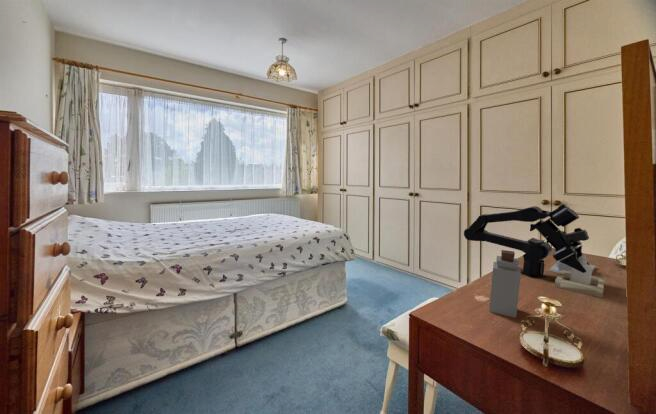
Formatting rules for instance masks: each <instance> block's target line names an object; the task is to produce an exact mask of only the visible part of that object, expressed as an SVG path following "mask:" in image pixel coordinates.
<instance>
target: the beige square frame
mask: <svg viewBox="0 0 656 414" xmlns="http://www.w3.org/2000/svg"><path fill="white" fill-rule="evenodd" d="M570 275H571V271H566V270H561V271H560V272H559V273H558V275H557V276H556V278H555V281H554V287H556V288H560V289H564V290H567V291H572V292H577V293H580V294H585V295H589V296H594V297H597V298H603V295H604V289H605V287H604V286H605V277H602V276H601V277H600V276H597V275H596V276H595V275H591V282H590V285H588V284H583V283H579V282H574V281H570Z"/></svg>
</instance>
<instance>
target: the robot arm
mask: <svg viewBox="0 0 656 414" xmlns="http://www.w3.org/2000/svg"><path fill="white" fill-rule="evenodd" d="M545 219H546V220H545ZM579 219H580V216H579V214H578V213H577V212H576V211H575V210H574V209H571V208H570V207H569V206H567V205H566V204H564V203H563V204H561V205H559V206H558V207H556V208H555V209H554V210H552V211H548V210H543V209H542V208H541V207H540V206H536V205H533V206H530V207H526V208H522V209H517V210H515V211H507V212H499V213H489V214H487V213H484V214H480V215H479V216H478V217H477V218H476V220H474V221H473V223H471V224H470V226H469V227H467V228H465V230H464V231H463V236H464V238H465V240H468V241H471V242H472V241H473V242H487V243H490V244H494V245H498V246H502V247H506V248H509V249H512V250H518V251H520V252H522V253H524V254H523V255H522V257H523V264H522V265H523V268H522V270H520V271H521V274H523V275H525V276H527V277H530V278H546V277H547V275H546V274H544V271H545V260H544V259H545V258H546V259H547V257H549V256H550V255H551V254H552V252H553V248H554V252H553V254H552V257H553V259H554V260H555V262H556V261H559V260H560V261H559V262H561V263H564V264H566V265H568V266H570V267H572V268H574V269H576V270H578V271H580V272H582V273H585V272H586V270H585V268H584V267H583V266H582V264H581V263H580V261H579V260H578V258H579V257H580V256H582V254H584V253H583V252H582V249H583V245H582V244H583V243H582V242H581V241H588V240H589V239H590V237H589V234H588V231H587V230H586V229H582V228H581V227H576V228H574V229H573V232H568V233H567V232H566V231H565V230H561V229H560V228H559V227H563V228H564V227H566V226H568V225H569V224H572V223H573V222H575V221H576V220H579ZM513 221H514V222H515V221H516V222H517V221H518V222H525V223H526V222H527V223H530V224H529V226H530V227H529V228H530V229H529V231H530V232H532V231H535V230H536V231H537V232H538V233H539V234H540V235H541V236H542V237H543V238H544V239H542V240H541V239H537V238H534V237H531V238H530V239H528V240H522V239H519V238H514V237H510V236H506V235H501V234H498V233H493V232H489V231H488V230H486V227H487V225H488V224H489V223H501V222H513ZM534 222H536V223H534ZM545 240H546V241H545ZM552 247H553V248H552ZM589 263H590V262H589ZM589 263H588V261H587V264H588V265H589Z"/></svg>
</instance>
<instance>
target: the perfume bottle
mask: <svg viewBox="0 0 656 414" xmlns="http://www.w3.org/2000/svg"><path fill="white" fill-rule="evenodd" d="M515 255H516V254H515V251H513V250H506V249H501V255H496V261H493V265H492V273H491V274H492V276H491V288H490V299H489V307H488V312H489V313H491V314H492V313H493V314H495V315H496V314H497V315H502V316H506V317H511V318H513V319H514V318H515V319H516V318H517V313H518V304H519V295H520V293H519V292H520V287H521V286H520V284H521V274H522V273H521V271H522V270H521V266H520V265H519V258H517V257H516V258H515Z"/></svg>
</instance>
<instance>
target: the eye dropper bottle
mask: <svg viewBox="0 0 656 414" xmlns="http://www.w3.org/2000/svg"><path fill="white" fill-rule="evenodd" d="M578 260H579V261H580V263H581V264H582V266H583V267H584V268H585V270H586V272H585V273H582V272H580V271H578V270H576V269H574V268H571V275H570V280H569V281H574V282H579V283H583V284H588V285H591V284H590V282H591V275H592V274H593V272H592V267H591V266H590V265H591V264H590V265H588V264H587V262H588V257H586V253H583V254H582V256H580V257H579V258H578ZM592 276H593V275H592Z"/></svg>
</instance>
